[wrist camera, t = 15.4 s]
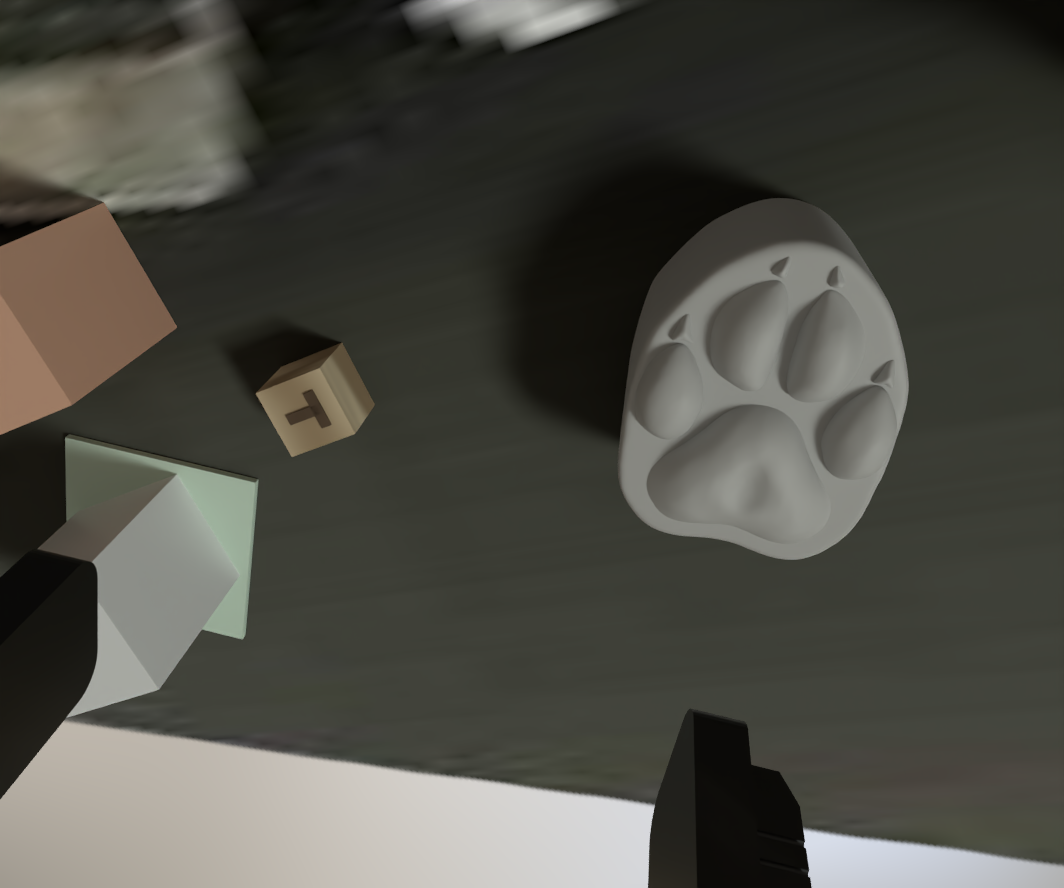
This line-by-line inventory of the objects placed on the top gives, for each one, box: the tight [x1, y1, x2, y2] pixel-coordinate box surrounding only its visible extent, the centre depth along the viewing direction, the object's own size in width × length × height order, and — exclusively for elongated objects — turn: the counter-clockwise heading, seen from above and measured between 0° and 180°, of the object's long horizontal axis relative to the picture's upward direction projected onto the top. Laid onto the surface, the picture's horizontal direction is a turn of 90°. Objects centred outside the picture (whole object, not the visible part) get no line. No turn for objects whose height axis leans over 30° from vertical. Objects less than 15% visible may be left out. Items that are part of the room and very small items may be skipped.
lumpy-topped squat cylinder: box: [618, 198, 909, 560], centre depth 41 cm, size 10×13×9 cm
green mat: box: [65, 434, 258, 639], centre depth 54 cm, size 10×10×1 cm
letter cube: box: [256, 343, 375, 457], centre depth 47 cm, size 3×3×4 cm
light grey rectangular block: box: [38, 474, 240, 718], centre depth 49 cm, size 6×6×9 cm
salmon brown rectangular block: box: [0, 203, 177, 435], centre depth 44 cm, size 6×6×9 cm
